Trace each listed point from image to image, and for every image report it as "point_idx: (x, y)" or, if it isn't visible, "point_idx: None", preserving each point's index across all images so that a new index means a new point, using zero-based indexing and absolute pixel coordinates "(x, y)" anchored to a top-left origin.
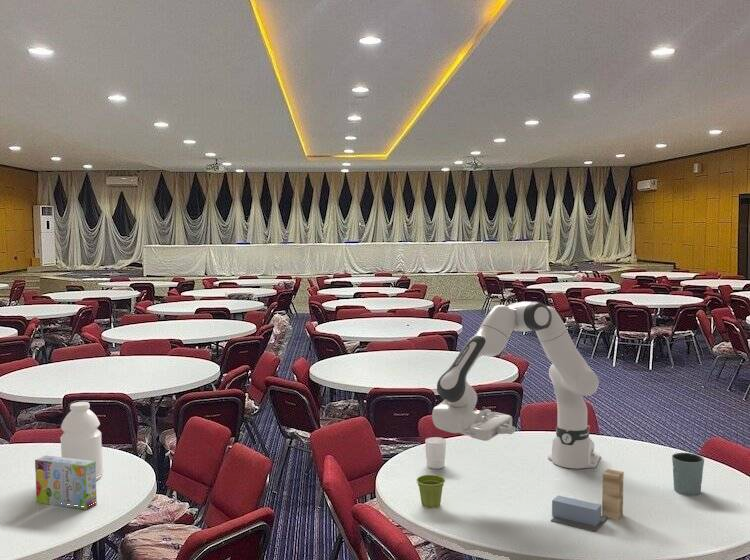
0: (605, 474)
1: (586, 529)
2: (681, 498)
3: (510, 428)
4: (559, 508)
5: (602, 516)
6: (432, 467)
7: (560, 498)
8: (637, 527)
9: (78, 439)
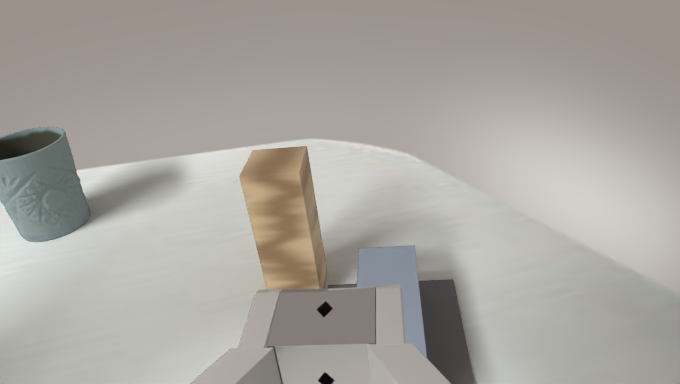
0: (301, 169)
1: (456, 301)
2: (114, 220)
3: (371, 304)
4: None
5: None
6: None
7: None
8: (350, 231)
9: None
